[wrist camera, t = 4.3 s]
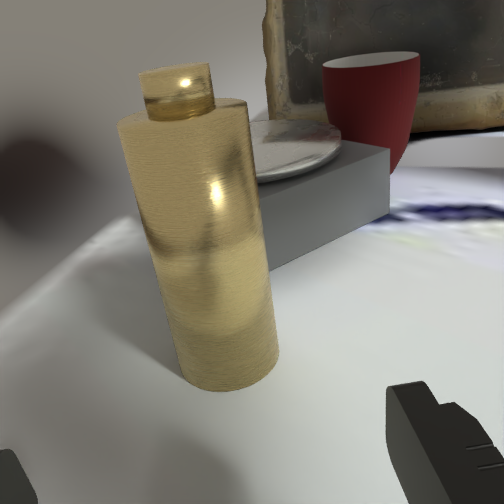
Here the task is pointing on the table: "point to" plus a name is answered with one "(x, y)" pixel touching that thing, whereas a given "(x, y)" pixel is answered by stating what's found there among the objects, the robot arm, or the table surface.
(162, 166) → the calibration weight
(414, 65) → the mug
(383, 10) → the tablet
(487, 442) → the robot arm
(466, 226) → the table surface
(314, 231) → the scale housing
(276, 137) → the scale platter
